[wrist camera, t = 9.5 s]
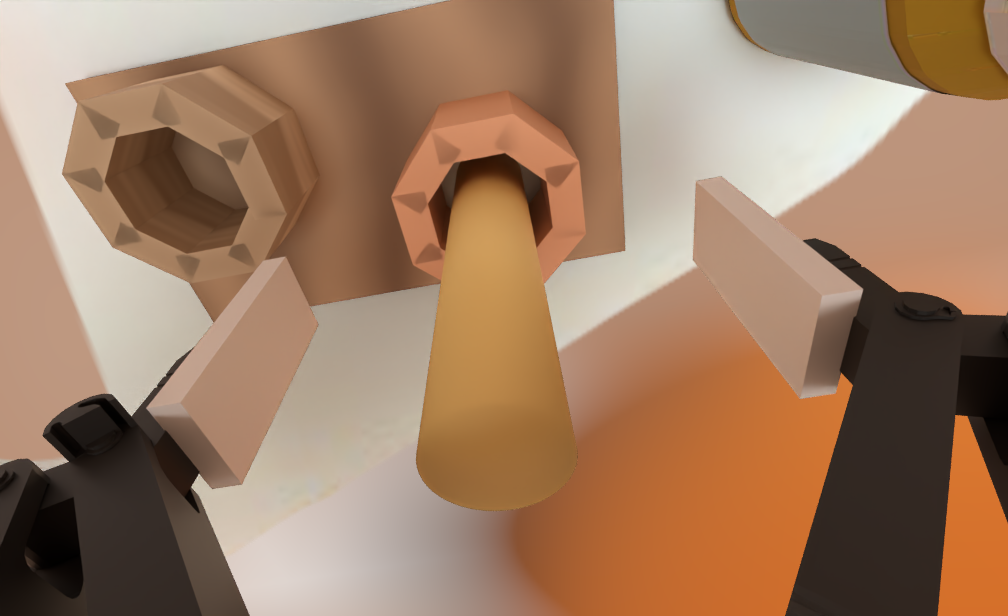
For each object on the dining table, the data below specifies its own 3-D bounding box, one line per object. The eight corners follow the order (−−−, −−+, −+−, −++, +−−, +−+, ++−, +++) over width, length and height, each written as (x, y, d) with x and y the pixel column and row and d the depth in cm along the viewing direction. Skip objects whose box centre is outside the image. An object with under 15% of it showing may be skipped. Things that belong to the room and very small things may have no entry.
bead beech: (197, 243, 24) (143, 292, 20) (107, 89, 20) (19, 113, 16) (336, 217, 23) (308, 261, 19) (272, 54, 19) (221, 71, 16)
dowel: (464, 214, 23) (438, 520, 10) (449, 152, 22) (395, 418, 8) (526, 203, 23) (584, 499, 10) (516, 139, 22) (568, 390, 8)
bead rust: (434, 257, 25) (426, 306, 21) (392, 113, 21) (373, 141, 17) (573, 232, 24) (590, 278, 20) (556, 80, 20) (573, 101, 17)
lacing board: (224, 310, 27) (214, 323, 26) (85, 78, 21) (64, 83, 20) (619, 240, 26) (625, 250, 25) (605, -33, 19) (611, -34, 18)
